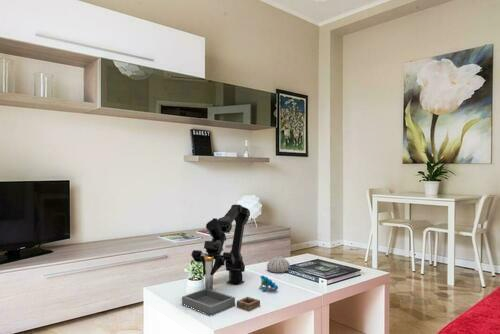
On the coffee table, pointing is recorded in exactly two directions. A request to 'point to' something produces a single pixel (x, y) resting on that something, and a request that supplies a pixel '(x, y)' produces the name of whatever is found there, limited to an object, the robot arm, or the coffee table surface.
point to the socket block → (248, 303)
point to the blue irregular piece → (267, 283)
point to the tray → (209, 301)
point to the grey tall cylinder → (208, 272)
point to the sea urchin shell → (278, 265)
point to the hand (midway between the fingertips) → (207, 274)
